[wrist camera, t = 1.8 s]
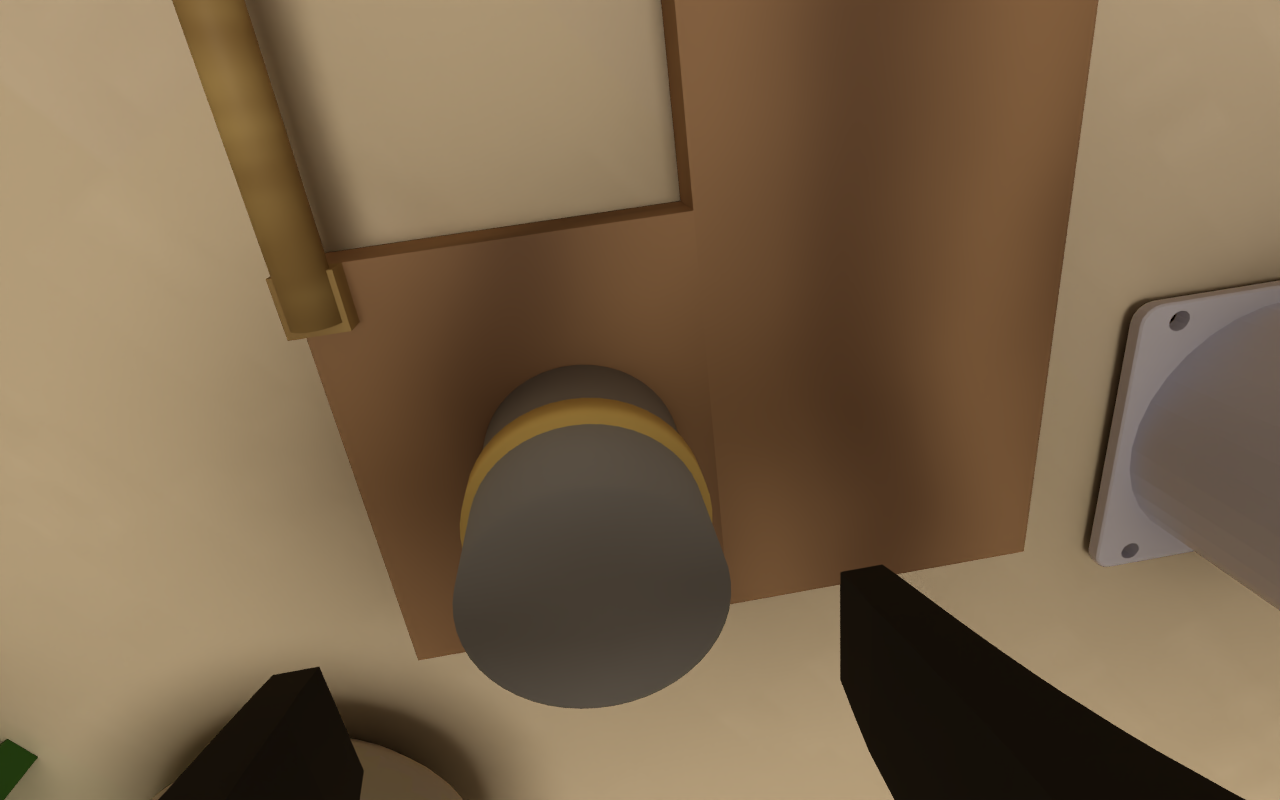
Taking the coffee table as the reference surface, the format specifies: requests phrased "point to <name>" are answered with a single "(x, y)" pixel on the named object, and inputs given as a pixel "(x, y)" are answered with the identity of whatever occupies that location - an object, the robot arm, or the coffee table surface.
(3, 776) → the hardback book
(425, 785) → the teacup
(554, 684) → the gold-banded grey cylinder
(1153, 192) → the coffee table surface
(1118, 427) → the robot arm
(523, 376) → the shelf board
